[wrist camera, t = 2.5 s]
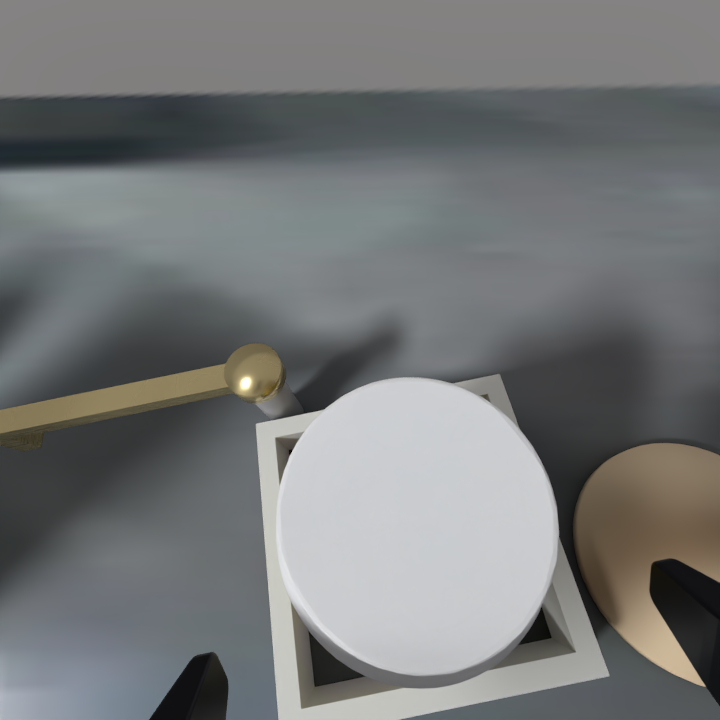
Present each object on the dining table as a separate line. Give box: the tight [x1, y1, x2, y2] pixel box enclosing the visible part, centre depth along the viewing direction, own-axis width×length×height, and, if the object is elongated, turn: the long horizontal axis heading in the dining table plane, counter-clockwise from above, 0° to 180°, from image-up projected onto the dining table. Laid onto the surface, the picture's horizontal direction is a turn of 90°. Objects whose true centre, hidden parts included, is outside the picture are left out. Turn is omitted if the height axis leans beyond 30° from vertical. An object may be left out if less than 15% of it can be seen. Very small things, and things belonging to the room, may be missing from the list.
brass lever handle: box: [0, 343, 286, 451], centre depth 17 cm, size 2×12×2 cm, turn 101°
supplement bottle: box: [276, 377, 559, 689], centre depth 13 cm, size 7×7×13 cm
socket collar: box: [256, 374, 609, 720], centre depth 16 cm, size 13×11×5 cm
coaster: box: [573, 443, 720, 687], centre depth 17 cm, size 9×9×1 cm
